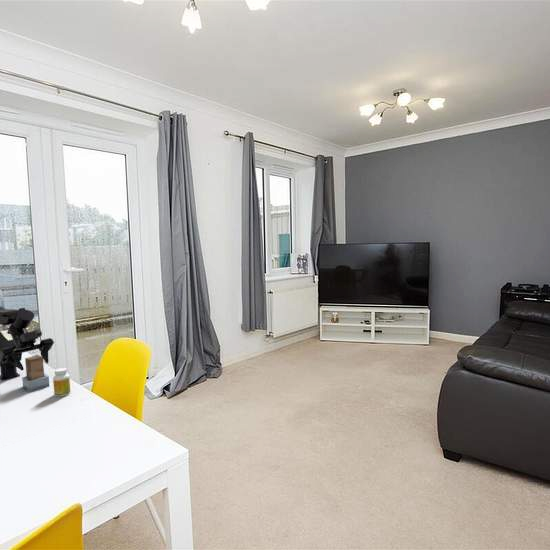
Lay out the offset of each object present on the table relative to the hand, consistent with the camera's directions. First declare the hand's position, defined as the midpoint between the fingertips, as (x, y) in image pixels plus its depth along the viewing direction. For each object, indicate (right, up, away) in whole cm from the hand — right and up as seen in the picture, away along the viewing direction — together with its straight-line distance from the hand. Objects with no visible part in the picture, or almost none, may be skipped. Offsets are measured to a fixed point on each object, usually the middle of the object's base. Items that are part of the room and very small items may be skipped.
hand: (35, 366), depth 151 cm
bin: (-1, -8, +1) cm, 9 cm away
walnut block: (-1, -7, +1) cm, 8 cm away
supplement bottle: (+14, -9, -6) cm, 18 cm away
